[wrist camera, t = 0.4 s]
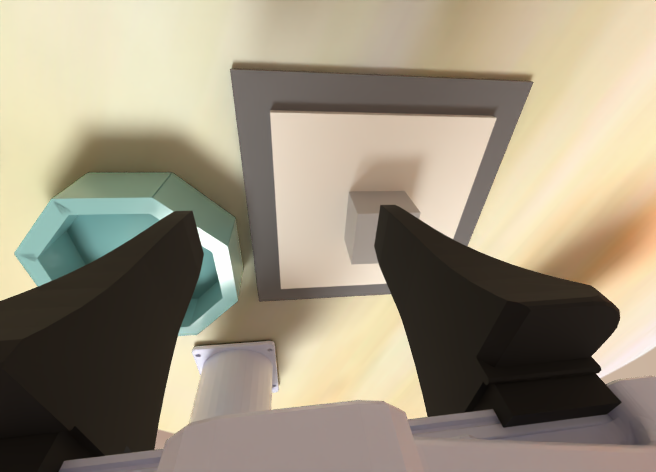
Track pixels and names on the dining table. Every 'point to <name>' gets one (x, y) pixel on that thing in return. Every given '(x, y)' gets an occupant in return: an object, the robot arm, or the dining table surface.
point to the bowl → (135, 234)
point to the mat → (356, 96)
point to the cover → (365, 185)
